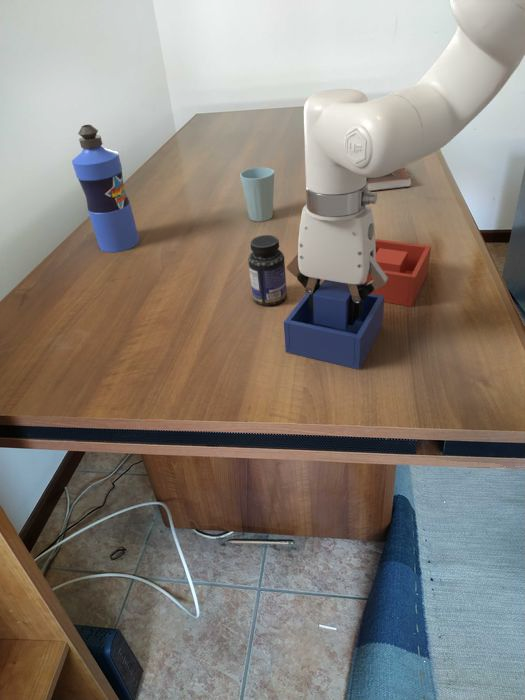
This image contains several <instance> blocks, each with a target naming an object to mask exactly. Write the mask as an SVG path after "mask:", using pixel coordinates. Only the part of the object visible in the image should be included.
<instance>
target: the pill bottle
mask: <svg viewBox="0 0 525 700" xmlns="http://www.w3.org/2000/svg"><path fill="white" fill-rule="evenodd" d="M279 248H280V241H279V238H278V237H277V236H276V235H271V234H263V235H258V236H256V237H253V238H252V239H251V240H250V251H251V252H250V254H249V255H248V258H247V263H248V271H249V278H250V286H251V294H252V295H251V296H252V300H253V301H254V303H256V305H260V306H265V307H266V306H267V307H270V306H271V307H272V306H277V305H279V304H281V303H283V302H284V301H286V298H287V296H288V291H287V289H288V288H287V277H286V275H287V274H286V266H285V265H286V263H285V255H284V253H283V252H282V250H280V249H279Z"/></svg>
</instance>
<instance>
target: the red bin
mask: <svg viewBox="0 0 525 700" xmlns="http://www.w3.org/2000/svg"><path fill="white" fill-rule="evenodd" d="M375 244H376V253H377V251H378V250H379V248H382V249H389V250H397V251H404V252H408V255H407V265H406V274H405V273H399V272H392V271H386V270H383V272H384V273H385V274H386V276H387V277H388V281H387V283H386V284H385V286H383V287H381V288H379V289H377V290H374V291H373V292H372V293H370V294H376V295H382V296H384V303H388V304H393V305H398V306H404V307H410V308H413V306H414V304H415V302H416V299H417V297H418V295H419V293H420V291H421V289H422V287H423V285H424V283H425V280H426V278H427V277H428V273H429V267H430V258H431V252H432V246H431V245H426V244H417V243H410V242H403V241H402V242H401V241H394V240H387V239H386V240H385V239H379V238H375ZM371 280H373V278H372V276H371V275H370V274H369V273H368V275H367V280H366V282H365V284H366V283H367V282H368V281H371Z"/></svg>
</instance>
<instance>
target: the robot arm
mask: <svg viewBox="0 0 525 700" xmlns="http://www.w3.org/2000/svg"><path fill="white" fill-rule="evenodd" d="M449 6H450V9H451V13H452V16H453V18H454V20H455V22H456V23H457V27H456V30H455V33H454V34H453V37H452V38H451V40H450V42H449V43H448V45H447V46H446V48H445V49H444V50H443V51H442V53H441V54H440V56H439V57H438V58H437V59H436V60H435V62H434V63H433V64H432V66H431V67H430V68H429V69H428V70H427V71H426V73H425V74H424V75H423V76H422V77H421V78H420V80H418V81H417V83H416V84H414V85H413V86H412V87H408V88H405V89H402V90H398V91H395V92H392V93H389V94H387V95H384V96H381V97H378V98H375V99H371V100H369V99H368V97H367V95H366V94H365V93H364V92H363V91H361V90H357V89H353V88H333V89H326V90H321V91H318V92H315V93H312V94H311V95H310V96H309V97H308V98H307V99H306V101H305V103H304V105H303V132H304V133H303V134H304V161H305V162H304V163H305V164H304V165H305V195H306V197H305V198H306V200H305V201H306V204H305V205H304V206H303V207H302V211H301V216H300V222H299V228H298V229H299V230H298V241H297V246H298V247H297V254H296V255H295V256H294V258H292V260H291V261H290V262H289V263H288V264H287V266H286V269H287V271H288V272H289V273H290V274H291V275H293V276H294V277H295V278H296V279H297V282H299V283H300V284H301V285H302V286H303V287H304V290H305V294H306V293H307V294H309V308H310V309H312V318H314V309H313V294H314V293H315V292H316V291H317V289H318V288H319V287H320V285H321V281H322V280H323V281H324V280H328V281H334V282H341V283H347V284H348V287H349V290H350V294H351V300H350V302H349V309H348V324H349V325H352V326H353V324H354V323H355V321H356V319H357V318H360V317H361V315H362V305H363V298H365V297H366V296H368V295H369V294H370V293H372V292H373V291H374V290H377V289H379V288H381V287H383V286H385V284H386V283H387V281H388V277H387V276H386V274H385V273H384V272H383V270H382V269H381V268H380V266H379V265H378V263H377V262H376V244H375V239H376V228H375V227H376V226H375V219H374V212H373V208H372V206H371V205H376V203H377V201H378V192H372V191H369V190H368V184H366V177H367V178H377V177H382V176H385V175H387V174H390V173H392V172H394V171H396V170H398V169H400V168H401V169H403V168H404V167H407V166H408V165H410V164H413V163H414V162H417V161H419V160H422V159H423V158H426V157H428V156H430V155H433V154H434V153H436V152H438V151H440V150H441V149H442V148H444V147H445V146H446V145H447V144H449V143H450V142H451V141H452V140H453V139H454V138H456V136H458V135H459V134H460V133H461V132H462V131H463V130H464V129H465V128H466V127H467V126H468V125H469V124H470V123H471V122H472V121H474V119H475V118H476V117H477V116H478V115H480V113H482V111H484V109H486V107H487V106H488V105H490V103H491V102H492V101H493V99H495V97H497V95H498V94H499V93H500V92H501V91H502V89H503V88H504V87H505V85H506V84H507V82H508V81H509V79H510V78H511V77H512V76H513V74H514V73H515V71H516V70H517V69H518V67H519V66H520V64H521V62H522V61H523V59H524V57H525V0H449ZM368 273H369V274H370V275H371V276H372V278H373V280H371V281H368V282H367V283H366V284H365V282H366V280H367V275H368Z"/></svg>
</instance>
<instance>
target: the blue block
mask: <svg viewBox="0 0 525 700" xmlns="http://www.w3.org/2000/svg"><path fill="white" fill-rule="evenodd" d="M350 300H351V294H350V290H349V287H348V284H347V283H341V282H334V281H328V280H323V281H322V282H321V283H320V287H319V288H318V289H317V291H316V292H315V293H314V294H313V309H314V324H319V325H324V326H328V327H333V328H338V329H343V330H346V329H347V327H348V326H349V324H348V309H349V302H350Z"/></svg>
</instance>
